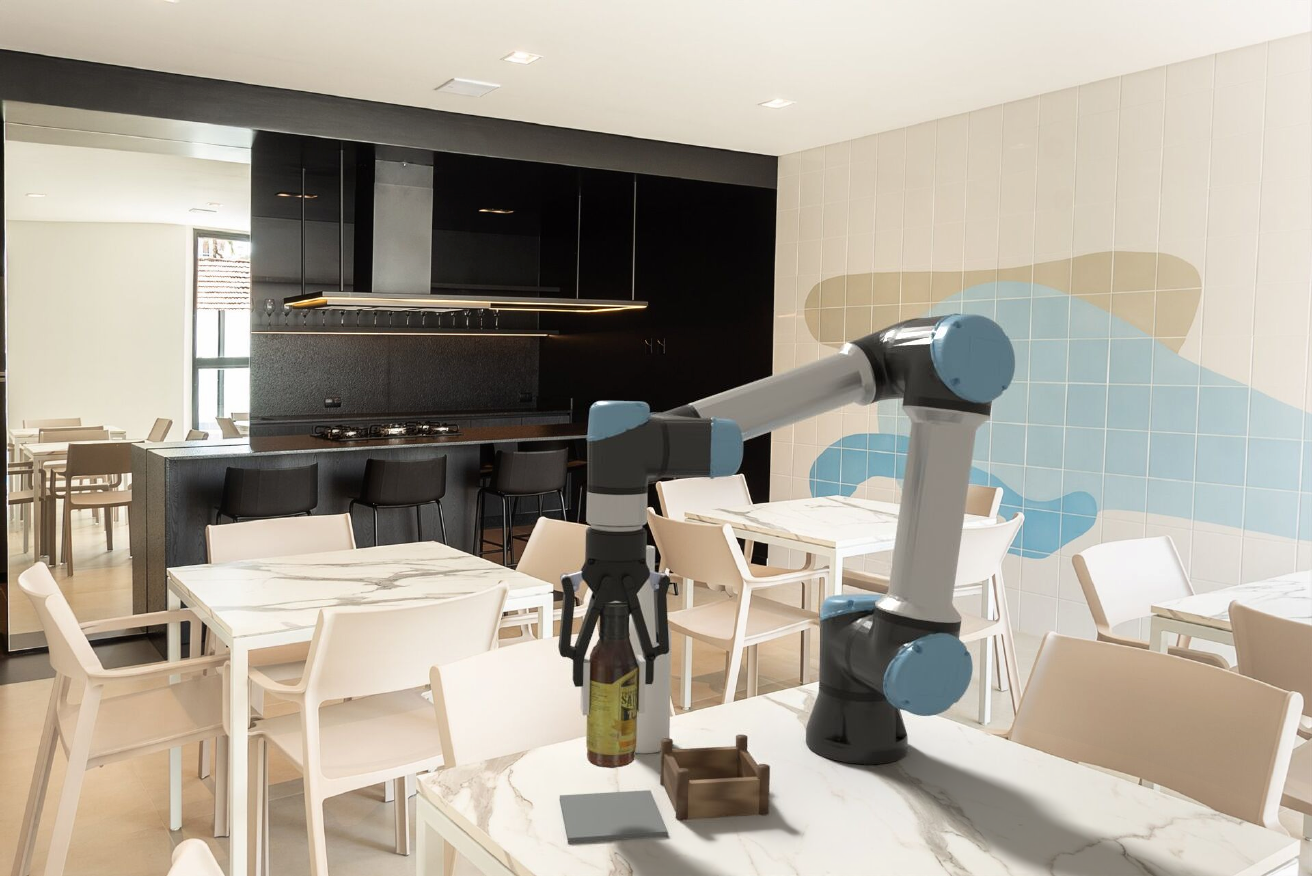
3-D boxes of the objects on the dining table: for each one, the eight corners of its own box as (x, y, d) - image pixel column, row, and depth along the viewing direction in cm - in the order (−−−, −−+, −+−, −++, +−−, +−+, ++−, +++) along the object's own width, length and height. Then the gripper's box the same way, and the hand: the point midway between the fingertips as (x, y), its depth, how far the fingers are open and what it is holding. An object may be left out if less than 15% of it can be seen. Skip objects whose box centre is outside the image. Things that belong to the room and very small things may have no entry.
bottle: (675, 752, 144) (679, 550, 143) (621, 755, 142) (625, 552, 141) (662, 732, 152) (666, 541, 150) (611, 736, 150) (614, 542, 149)
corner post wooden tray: (744, 776, 136) (745, 734, 135) (770, 814, 124) (771, 768, 124) (659, 781, 134) (660, 738, 133) (677, 820, 122) (677, 773, 121)
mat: (650, 794, 129) (650, 790, 129) (667, 836, 118) (667, 831, 118) (559, 799, 127) (559, 795, 127) (567, 842, 115) (568, 837, 115)
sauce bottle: (629, 773, 118) (633, 610, 117) (579, 767, 119) (582, 607, 118) (641, 753, 124) (644, 599, 123) (593, 748, 126) (596, 595, 125)
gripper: (686, 521, 126) (681, 698, 127) (536, 521, 122) (533, 703, 123) (699, 530, 118) (694, 717, 120) (540, 531, 115) (536, 723, 116)
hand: (612, 710), depth 122 cm, fingers closed on sauce bottle, 6 cm apart
